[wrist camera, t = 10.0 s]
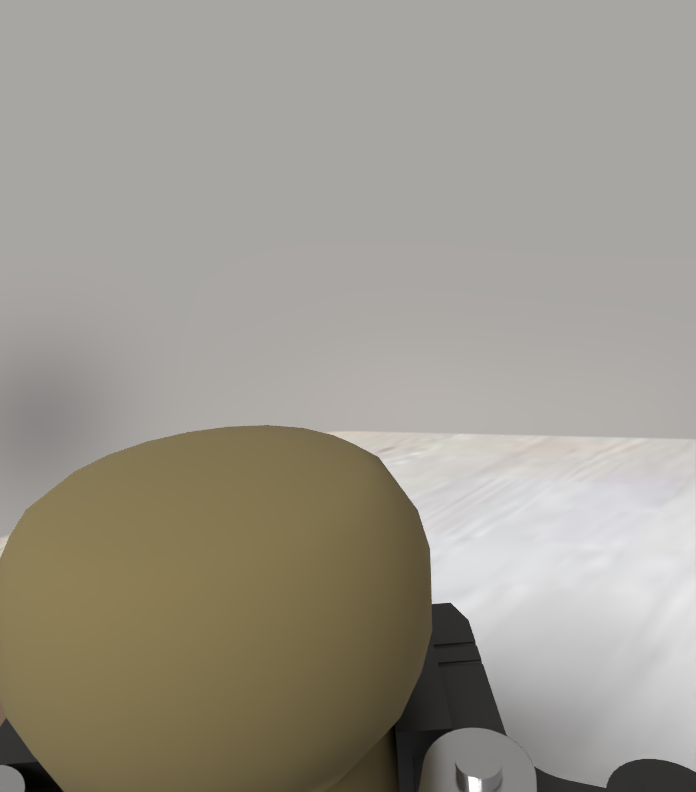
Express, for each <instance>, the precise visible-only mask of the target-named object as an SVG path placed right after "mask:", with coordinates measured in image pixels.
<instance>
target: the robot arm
mask: <svg viewBox="0 0 696 792" xmlns="http://www.w3.org/2000/svg"><path fill="white" fill-rule="evenodd" d="M394 728H395V740H396V753H397V766H398V778H399V791H400V792H696V772H694V771H692V770H690V769H688V768H686V767H684V766H681V765H678V764H676V763H672V762H668V761H664V760H657V759H641V760H635V761H631V762H628V763H626V764H624V765H622V766H620V767H619V768H618V769H616V770H615V771H614V772H613V774H612V775H611V776H610V778H609V780H608V783H607V787H606V788H603V787H598V786H593V785H588V784H583V783H578V782H573V781H569V780H565V779H561V778H557V777H555V776H552V775H549V774H547V773H545V772H543V771H541V770H539V769H537V768H536V767H534V766H533V763H532V761H531V759H530V757H529V756H528V754H527V753H526V752H525V751H524V749H523V748H522V747H521V746H519V745H518V744H517V743H516V742H515V741H513V740H512V739H510V738H509V737H507V735H506V733H505V730H504V727H503V724H502V721H501V718H500V715H499V712H498V709H497V706H496V703H495V700H494V697H493V694H492V691H491V688H490V685H489V682H488V678H487V675H486V672H485V669H484V666H483V664H482V662H481V657H480V654H479V651H478V648H477V646H476V644H475V639H474V636H473V633H472V630H471V627H470V624H469V621H468V619H467V618H466V617H465V616H464V615H462V614H461V613H460V612H459V611H458V610H457V609H456V608H455V607H454V606H453V605H452V604H451V603H442V604H432V633H431V637H430V641H429V645H428V649H427V653H426V657H425V661H424V665H423V669H422V672H421V674H420V677H419V679H418V681H417V683H416V685H415V687H414V689H413V691H412V694H411V696H410V698H409V700H408V702H407V704H406V706H405V708H404V711H403V713H402V715H401V717H400V718H399V720H398V721H397V722H396V723H395V724H394ZM0 792H64V791H63V790H62V789H61V788H60V787H59V785H58V784H57V783H56V782H55V781H54V779H53V778H52V777H51V776H50V775H49V773H48V772H47V771H46V770H45V769H44V768H43V766H42V765H41V764H40V763H39V762H38V760H37V759H36V758H35V757H34V756H33V754H32V753H31V752H30V750H29V749H28V747H27V746H26V745H25V743H24V742H23V740H22V739H21V738H20V736H19V735H18V733H17V732H16V731H15V729H14V728H13V726H12V725H11V724H10V722H9V721H8V719H7V718H6V719H5V720H4V722H3V723H2V725H1V726H0Z"/></svg>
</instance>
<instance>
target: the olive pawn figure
mask: <svg viewBox="0 0 696 792" xmlns="http://www.w3.org/2000/svg"><path fill="white" fill-rule="evenodd" d="M431 633H432V600H431V566H430V548H429V544H428V541H427V538H426V535H425V532H424V529H423V526H422V523H421V519H420V516H419V513H418V510H417V509H416V507H415V506H414V505H413V503H412V502H411V501H410V499H409V498H408V496H407V495H406V494H405V492H404V491H403V490H402V488H401V487H400V486H399V484H398V483H397V482H396V480H395V479H394V477H393V476H392V475H391V473H390V472H389V471H388V469H387V468H386V467H385V465H384V464H383V463H382V461H381V460H380V459H379V457H377V456H375V455H373V454H371V453H369V452H368V451H366V450H364V449H362V448H360V447H358V446H356V445H354V444H352V443H350V442H348V441H345V440H343V439H341V438H338V437H336V436H334V435H330V434H326V433H321V432H317V431H313V430H309V429H304V428H295V427H282V426H269V425H264V426H239V427H224V428H216V429H209V430H202V431H194V432H187V433H183V434H178V435H174V436H170V437H165V438H162V439H157V440H152V441H148V442H145V443H142V444H139V445H136V446H133V447H130V448H127V449H124V450H121V451H118V452H115V453H113V454H110V455H107V456H105V457H103V458H101V459H99V460H97V461H95V462H93V463H91V464H89V465H87V466H85V467H83V468H81V469H79V470H77V471H75V472H74V473H73V474H71V475H70V476H69V477H67V478H66V479H65V480H64V481H62V482H61V483H60V484H58V485H57V486H56V487H54V488H53V489H52V490H51V491H49V492H48V493H47V494H46V495H44V496H43V497H42V498H40V499H39V500H38V501H37V502H35V503H34V504H33V505H32V506H30V507H29V508H28V509H27V510H26V511H25V513H24V514H23V516H22V518H21V519H20V521H19V522H18V524H17V526H16V527H15V529H14V530H13V532H12V533H11V535H10V537H9V539H8V541H7V544H6V546H5V549H4V551H3V553H2V556H1V558H0V700H1V703H2V707H3V710H4V713H5V716H6V718H7V719H8V721H9V722H10V724H11V725H12V726H13V728H14V729H15V731H16V732H17V733H18V735H19V736H20V738H21V739H22V740H23V742H24V743H25V745H26V746H27V747H28V749H29V750H30V752H31V753H32V754H33V756H34V757H35V758H36V759H37V760H38V762H39V763H40V764H41V765H42V766H43V768H44V769H45V770H46V771H47V772H48V773H49V775H50V776H51V777H52V778H53V779H54V781H55V782H56V783H57V784H58V785H59V787H60V788H61V789H62V790H63V791H64V792H400V791H399V778H398V766H397V753H396V740H395V728H394V724H395V723H396V722H397V721H398V720H399V718H400V717H401V715H402V713H403V711H404V708H405V706H406V704H407V702H408V700H409V698H410V696H411V694H412V691H413V689H414V687H415V685H416V683H417V681H418V679H419V677H420V674H421V672H422V669H423V665H424V661H425V657H426V653H427V649H428V645H429V641H430V637H431Z"/></svg>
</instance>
